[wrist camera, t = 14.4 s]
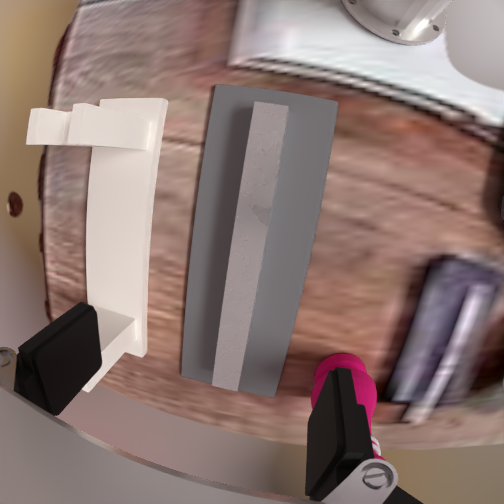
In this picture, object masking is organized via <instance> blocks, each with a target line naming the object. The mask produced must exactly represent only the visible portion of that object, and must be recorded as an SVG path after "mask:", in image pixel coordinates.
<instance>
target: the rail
mask: <svg viewBox="0 0 504 504" xmlns="http://www.w3.org/2000/svg"><path fill="white" fill-rule="evenodd" d="M288 116H289V106H285V105H278V104H271V103H264V102H257V101H255V102H254V108H253V114H252V119H251V125H250V131H249V137H248V143H247V149H246V155H245V161H244V167H243V173H242V179H241V185H240V191H239V198H238V204H237V210H236V217H235V223H234V230H233V236H232V243H231V250H230V256H229V263H228V270H227V277H226V284H225V291H224V298H223V305H222V312H221V319H220V327H219V334H218V342H217V349H216V357H215V364H214V372H213V380H212V386H215V387H220V388H224V389H228V390H232V391H238V387H239V384H240V380H241V376H242V371H243V366H244V360H245V355H246V350H247V345H248V340H249V334H250V329H251V324H252V319H253V313H254V308H255V303H256V297H257V292H258V286H259V281H260V276H261V270H262V265H263V259H264V254H265V248H266V243H267V237H268V232H269V226H270V220H271V215H272V209H273V203H274V198H275V192H276V186H277V181H278V175H279V169H280V163H281V157H282V152H283V146H284V140H285V134H286V128H287V122H288Z"/></svg>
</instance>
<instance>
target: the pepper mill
mask: <svg viewBox="0 0 504 504" xmlns="http://www.w3.org/2000/svg"><path fill="white" fill-rule="evenodd" d="M335 367H341V368H348V369H351V372H352V377H353V382H354V388H355V393H356V399H357V404H363V405H364V406H365V408H366V413H367V418H368V423H369V429H370V434H371V418H372V415H373V412H374V409H375V406H376V399H377V392H376V387H375V383H374V381H373V379H372V378H371V377H370V376H369V375H368V374H367V372H366V368H365V365H364V363H363V362H362V360H361V359H360V358H358V357H357V356H355V355H352V354H346V353H341V354H335V355H332V356H330V357H328V358H326V359H325V360H323V361H322V362H321V363H320V364H319V365H318V367H317V368H316V370H315V374H314V382H315V386H314V388H313V390H312V393H311V404H312V409H313V408H314V406H315V403H316V401H317V399H318V396H319V394H320V391H321V389H322V386H323V384H324V381H325V379H326V376H327V374H328V372H329V370H334V368H335ZM371 440H372V446H373V452H374V458H375V459H380V460H384V461H386V460H385V459H384V458H383V457H381V456H380V454H381V451H380V448H379V442H378V441H377V439H376V438H374V437H373V436H372V434H371ZM386 462H387V461H386Z"/></svg>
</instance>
